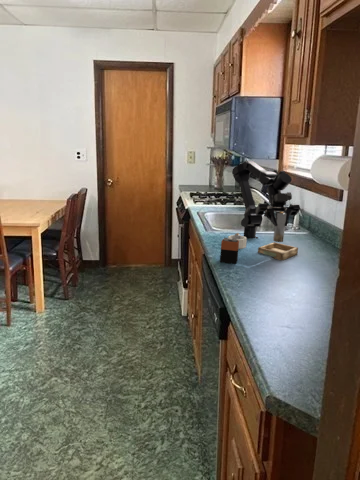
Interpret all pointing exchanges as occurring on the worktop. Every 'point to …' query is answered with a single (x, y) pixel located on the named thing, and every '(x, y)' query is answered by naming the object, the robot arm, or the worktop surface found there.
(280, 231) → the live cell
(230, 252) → the battery
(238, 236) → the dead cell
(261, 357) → the worktop surface
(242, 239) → the cup
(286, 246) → the wooden tray
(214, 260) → the worktop surface
